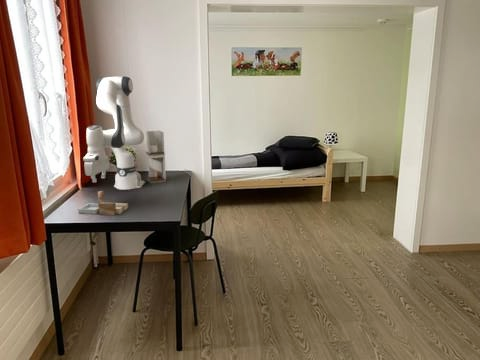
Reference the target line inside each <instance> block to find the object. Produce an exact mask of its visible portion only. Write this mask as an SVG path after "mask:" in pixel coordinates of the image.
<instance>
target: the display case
mask: <svg viewBox="0 0 480 360" xmlns="http://www.w3.org/2000/svg"><path fill="white" fill-rule="evenodd" d="M164 134H165V133H164V131H162V130H146V131H145V130H144V144H145V156H146V157H147V162H148V163H147V165H148V176H147V181H148V182H149V183H150V184H157V183H158V184H159V183H165V182H167V173H166V171H167V170H166V155H165V154H166V153H165V152H166V151H165V139H164V138H165V137H164V136H165V135H164Z"/></svg>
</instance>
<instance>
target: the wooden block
mask: <svg viewBox="0 0 480 360" xmlns="http://www.w3.org/2000/svg"><path fill="white" fill-rule="evenodd" d="M116 203H117V202H111V201H110V202H109V201H104V202H100V203H99V202H98V203H97V204H98V206H99V213H98V214H99V215H101V216H102V215H103V216H115V215H117V214H116Z"/></svg>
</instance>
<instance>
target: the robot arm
mask: <svg viewBox="0 0 480 360" xmlns="http://www.w3.org/2000/svg"><path fill="white" fill-rule="evenodd" d="M133 85H134V84H133V81H132V79H131V78H130V77H129V76H121V75H120V76H115V75H114V76H107V77H101V78H98V79H97V81H96V83H95V87H96V90H97V92H96V93H97V94H96V99H95V101H96V106H97V108H98V109H99V110H100V111H102V112H103V113H105V114H108V115H111V116H112V118H113V121H114V128H109V129H107V130H103V128H102V126H101V125H97V124H94V125H93V124H92V125H89V126H87V128H86V134H85V135H86V136H85V137H86V138H85V139H86V145H87V153H86V154H85V156H83V158H82V161H83V162H84V165H83V166H84V174H85V176H90V178H91V180H92V181H91V182H92V183H97V182H98V179H97V178H96V175H97V174H99V173H101V175H100V178H101V179H102V180H103V179H105V178H106V173H107V170H109V169H110V159H109V157H108V156H107V155H108V154H106V149H105V148H107V149H108V148H109V149H110V150H112V151H113V154H114V155H115V160H116V161H115V162H116V169H115V170H116V174H115V176H114V177H115V178H114V179H115V183H114V185H113V188H116V189H117V190H123V191H124V190H134V189H140V188H142V187H143V185H144V184H145V183H146V181H145V180H142V175H141V174H140V173H139V172H137V168H138V165H135V157H134V156H135V155H134V154H133V153H132V152H131V151H129V150H127V149H125V148H124V146H125V147H126V146H137V145H141V144H142V143H144V141H145V133H144V131H142V130H141V129H140V128H139V127H137V126H136V124H135V123H134V121H133V118H132V113H131V110H132V109H131V101H130V94H131V93H132V92H133V89H134V86H133Z"/></svg>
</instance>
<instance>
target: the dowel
mask: <svg viewBox="0 0 480 360" xmlns="http://www.w3.org/2000/svg"><path fill="white" fill-rule="evenodd" d="M97 201H98V204H99V203H100V202H105V195H104V190H99V191H97Z"/></svg>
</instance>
